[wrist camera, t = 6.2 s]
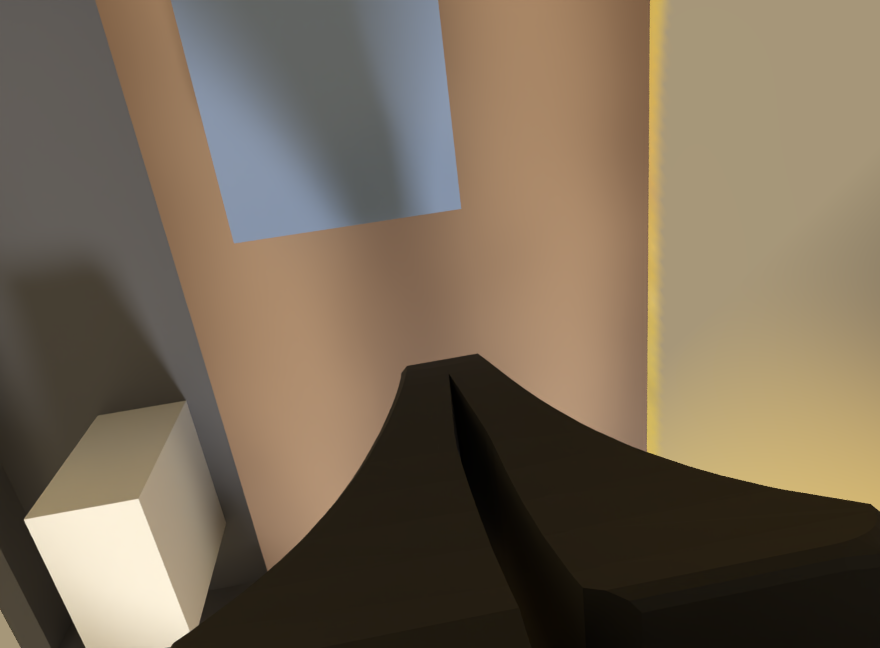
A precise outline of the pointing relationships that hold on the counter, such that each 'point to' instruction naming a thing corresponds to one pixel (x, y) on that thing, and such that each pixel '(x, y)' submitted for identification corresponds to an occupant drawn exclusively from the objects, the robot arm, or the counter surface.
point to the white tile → (132, 528)
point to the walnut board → (420, 249)
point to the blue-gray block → (322, 110)
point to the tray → (86, 300)
